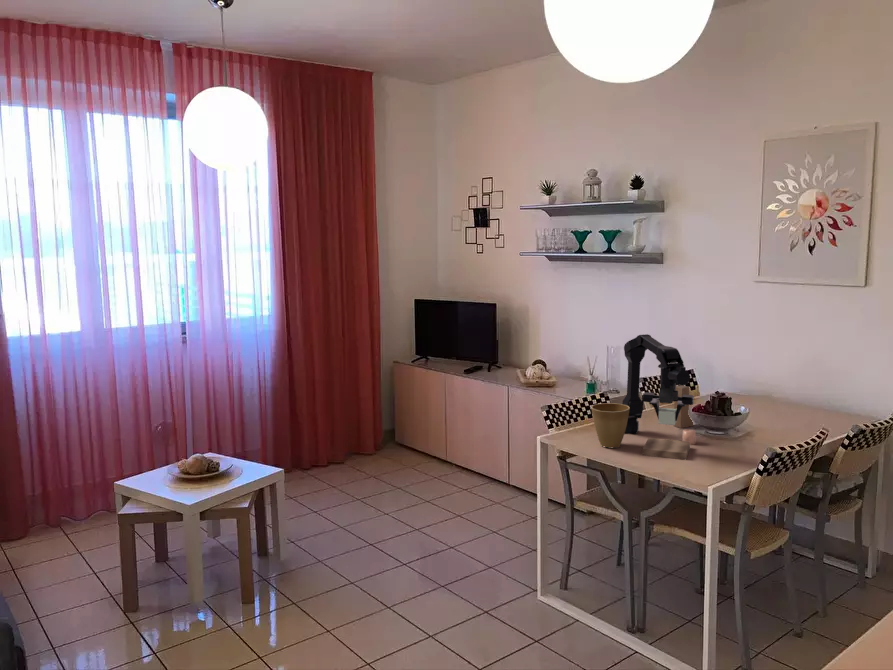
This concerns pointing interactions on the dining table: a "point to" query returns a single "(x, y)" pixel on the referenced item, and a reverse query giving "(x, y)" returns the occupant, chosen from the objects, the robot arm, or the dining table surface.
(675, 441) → the walnut base
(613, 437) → the plant pot
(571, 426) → the dining table surface
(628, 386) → the robot arm
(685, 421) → the wooden block
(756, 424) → the dining table surface
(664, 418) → the sage cube
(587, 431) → the dining table surface
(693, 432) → the salmon pink cube
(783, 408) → the dining table surface
